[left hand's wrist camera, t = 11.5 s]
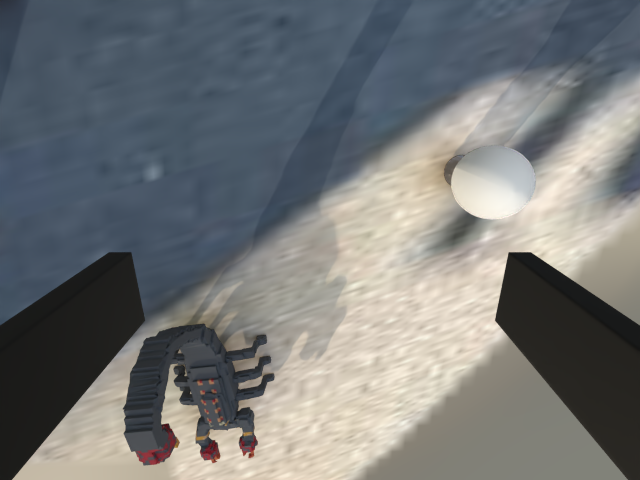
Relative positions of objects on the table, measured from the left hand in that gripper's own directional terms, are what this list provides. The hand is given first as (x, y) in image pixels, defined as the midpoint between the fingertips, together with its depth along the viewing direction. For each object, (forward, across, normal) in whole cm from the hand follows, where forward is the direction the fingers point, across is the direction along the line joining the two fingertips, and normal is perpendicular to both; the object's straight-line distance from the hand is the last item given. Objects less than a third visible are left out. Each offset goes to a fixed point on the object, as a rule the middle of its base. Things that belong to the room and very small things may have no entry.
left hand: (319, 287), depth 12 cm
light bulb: (+29, -16, 0) cm, 33 cm away
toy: (+29, +14, +28) cm, 42 cm away
